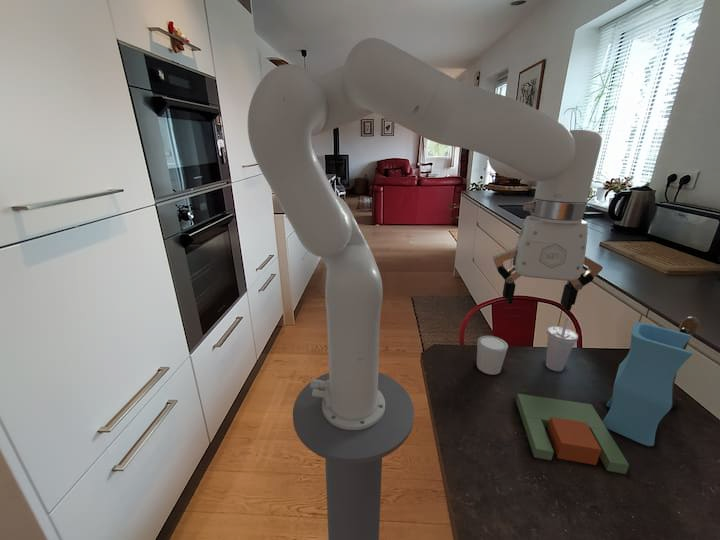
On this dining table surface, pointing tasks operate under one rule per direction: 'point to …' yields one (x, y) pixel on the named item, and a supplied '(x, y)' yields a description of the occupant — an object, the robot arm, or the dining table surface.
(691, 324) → the wooden tabletop sculpture
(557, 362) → the smoothie
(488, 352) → the shot glass
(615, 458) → the green flat bent piece
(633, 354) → the vase
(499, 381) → the dining table surface
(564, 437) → the orange block
